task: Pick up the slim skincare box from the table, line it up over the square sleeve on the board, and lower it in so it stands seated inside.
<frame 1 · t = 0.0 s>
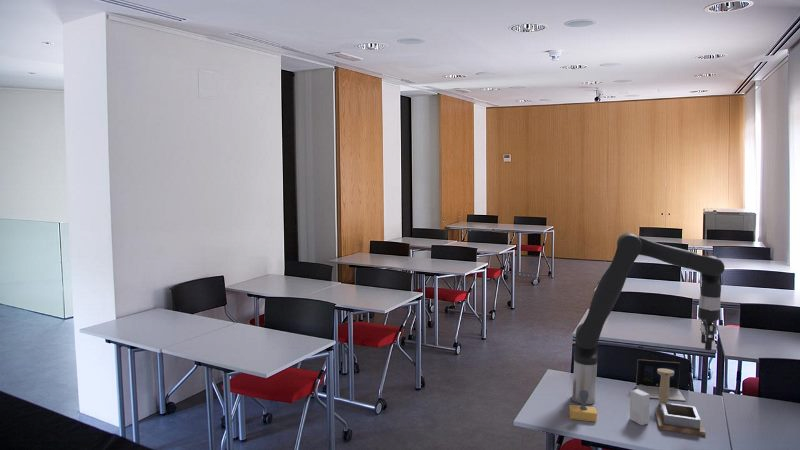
hand: (706, 346, 229), 29 cm above the table, tool pointing down, fingers open, 8 cm apart
socket board: (679, 424, 226), on the table
laptop: (660, 394, 255), on the table
skincare box: (638, 421, 228), on the table
rubber stamp: (582, 418, 231), on the table
handle: (663, 405, 244), on the table
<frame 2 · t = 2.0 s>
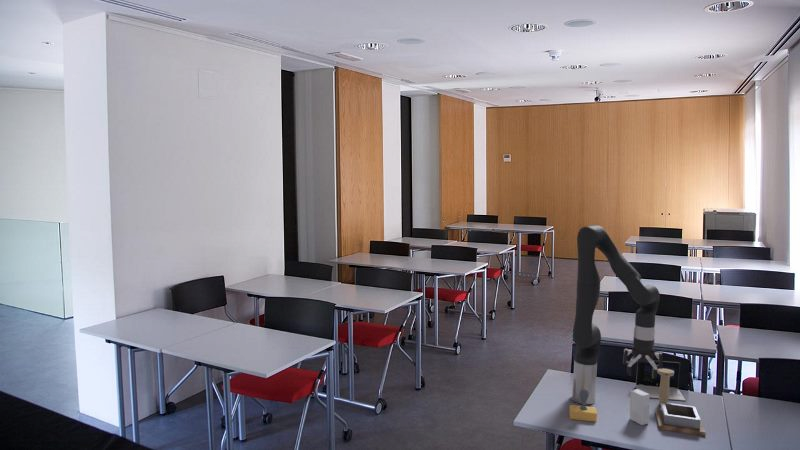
hand: (641, 376, 226), 18 cm above the table, tool pointing down, fingers open, 8 cm apart
nothing on the table moved.
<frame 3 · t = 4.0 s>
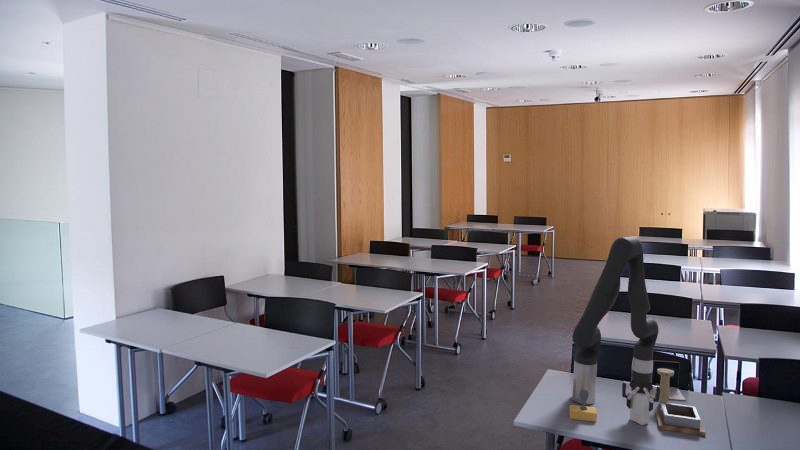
hand: (639, 409, 228), 5 cm above the table, tool pointing down, fingers closed on skincare box, 7 cm apart
skincare box: (638, 421, 228), on the table, touching gripper
everything else where it was.
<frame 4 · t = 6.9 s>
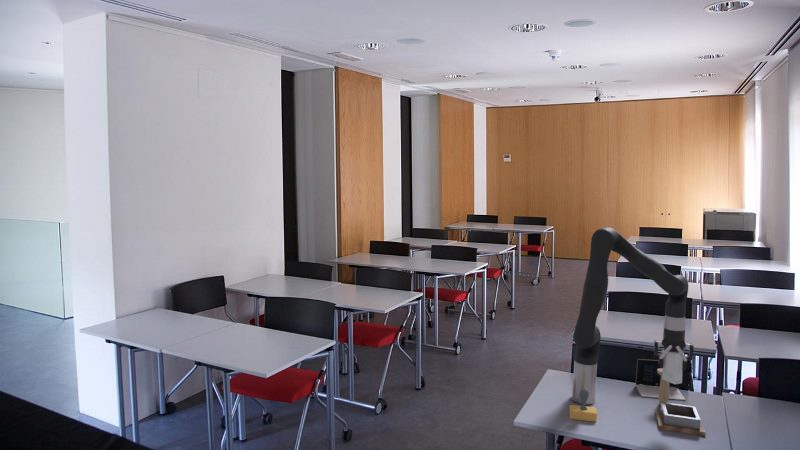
hand: (672, 368, 224), 23 cm above the table, tool pointing down, fingers closed on skincare box, 7 cm apart
skincare box: (671, 381, 224), point 17 cm above the table, touching gripper
everything else where it was.
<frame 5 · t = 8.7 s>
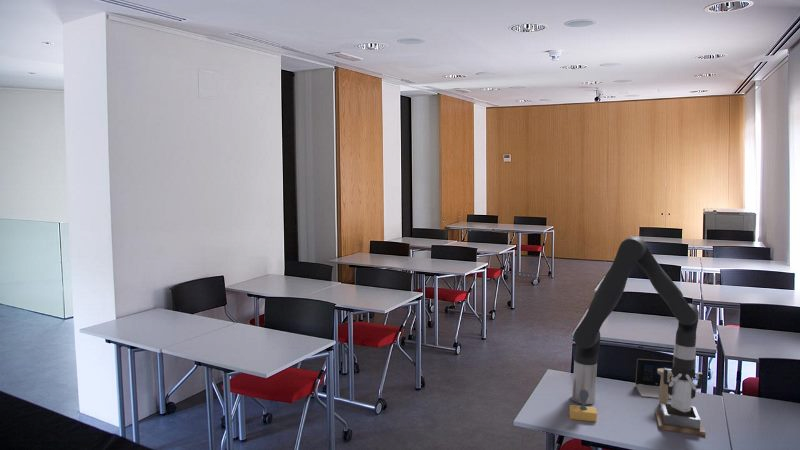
hand: (681, 396, 225), 11 cm above the table, tool pointing down, fingers closed on skincare box, 7 cm apart
skincare box: (680, 409, 226), point 6 cm above the table, touching gripper
everything else where it was.
when the fingers open (8 cm above the table, at t = 10.1 s): skincare box stays where it is, resting on socket board.
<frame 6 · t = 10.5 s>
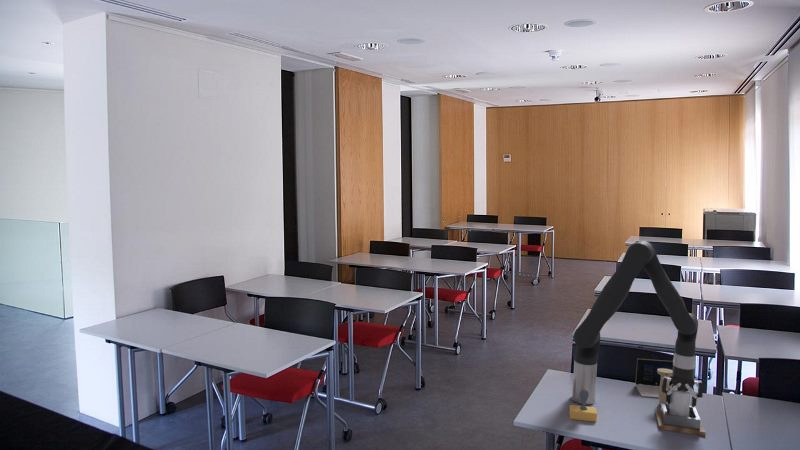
hand: (680, 404, 225), 8 cm above the table, tool pointing down, fingers open, 8 cm apart
skincare box: (678, 420, 226), point 1 cm above the table, touching socket board
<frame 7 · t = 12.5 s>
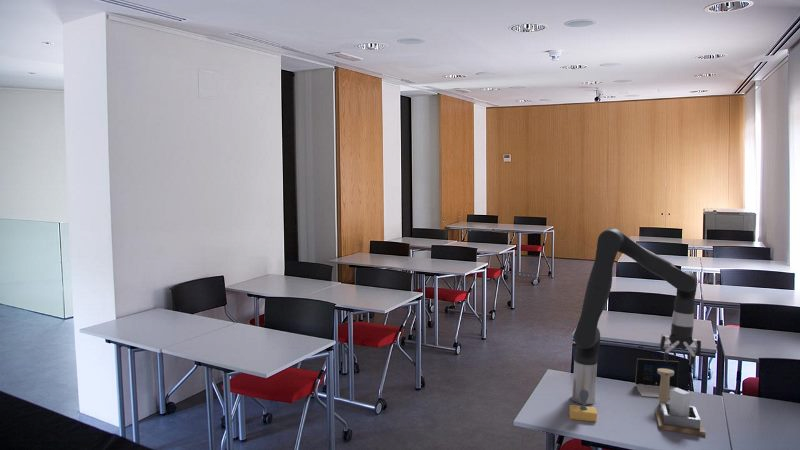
hand: (678, 363, 226), 24 cm above the table, tool pointing down, fingers open, 8 cm apart
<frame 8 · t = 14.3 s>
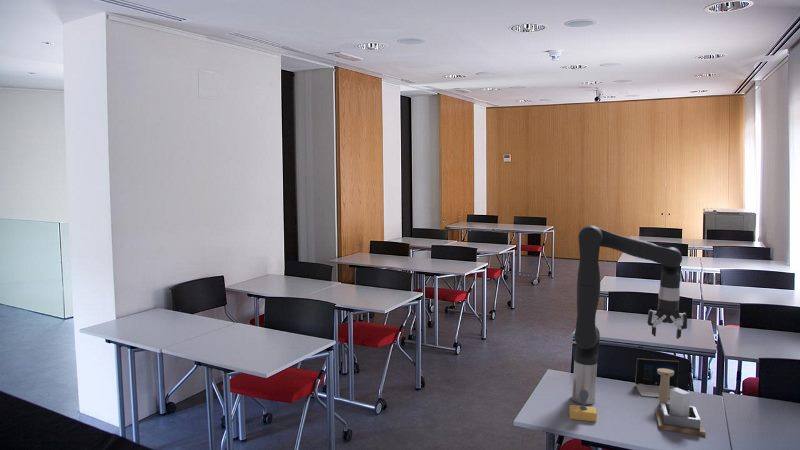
hand: (665, 337, 232), 32 cm above the table, tool pointing down, fingers open, 8 cm apart
at the end: skincare box 0.4 cm off-centre on the socket board, point 1.3 cm above the socket board's base; skincare box tilted 0°; the gripper is holding nothing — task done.
